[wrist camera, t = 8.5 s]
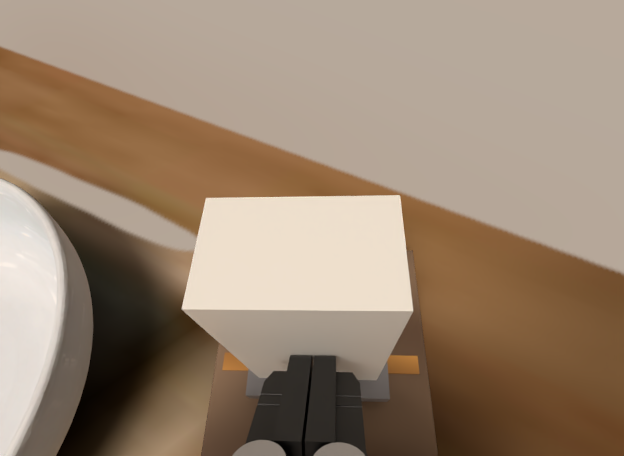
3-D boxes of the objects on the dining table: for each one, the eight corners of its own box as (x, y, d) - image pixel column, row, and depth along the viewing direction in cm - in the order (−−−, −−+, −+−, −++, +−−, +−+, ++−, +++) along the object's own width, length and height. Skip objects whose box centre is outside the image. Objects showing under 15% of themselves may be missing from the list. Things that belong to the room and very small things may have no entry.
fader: (387, 401, 16) (443, 345, 7) (250, 398, 16) (151, 341, 8) (380, 304, 18) (417, 173, 10) (260, 303, 19) (192, 177, 10)
